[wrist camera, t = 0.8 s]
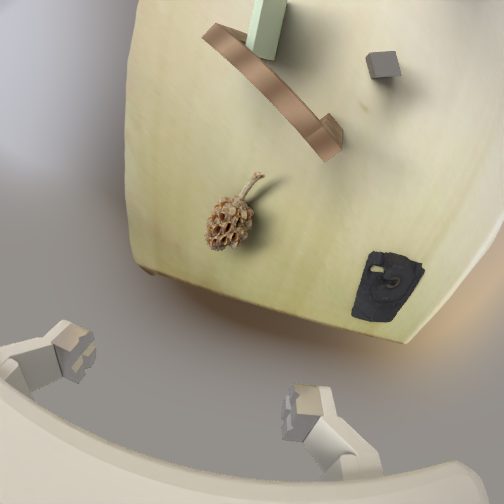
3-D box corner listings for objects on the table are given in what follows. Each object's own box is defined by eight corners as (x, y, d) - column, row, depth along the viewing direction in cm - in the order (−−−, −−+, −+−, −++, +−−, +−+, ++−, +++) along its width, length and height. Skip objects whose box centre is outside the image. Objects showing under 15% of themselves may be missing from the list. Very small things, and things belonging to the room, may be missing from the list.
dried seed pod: (244, 244, 68) (229, 270, 60) (210, 226, 68) (191, 248, 60) (284, 170, 54) (271, 188, 46) (242, 148, 54) (222, 162, 46)
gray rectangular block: (365, 57, 36) (369, 52, 29) (386, 56, 34) (395, 51, 27) (370, 78, 38) (376, 77, 31) (391, 76, 36) (401, 75, 29)
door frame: (241, 46, 41) (201, 37, 29) (252, 36, 39) (215, 22, 27) (330, 138, 47) (324, 162, 35) (342, 129, 45) (341, 150, 33)
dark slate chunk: (342, 309, 71) (340, 322, 67) (372, 244, 57) (373, 256, 54) (391, 322, 68) (392, 335, 64) (429, 262, 54) (432, 275, 51)
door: (274, 60, 41) (251, 55, 31) (259, 58, 41) (233, 53, 31) (287, 1, 32) (268, -21, 23) (272, -1, 33) (248, -22, 23)
